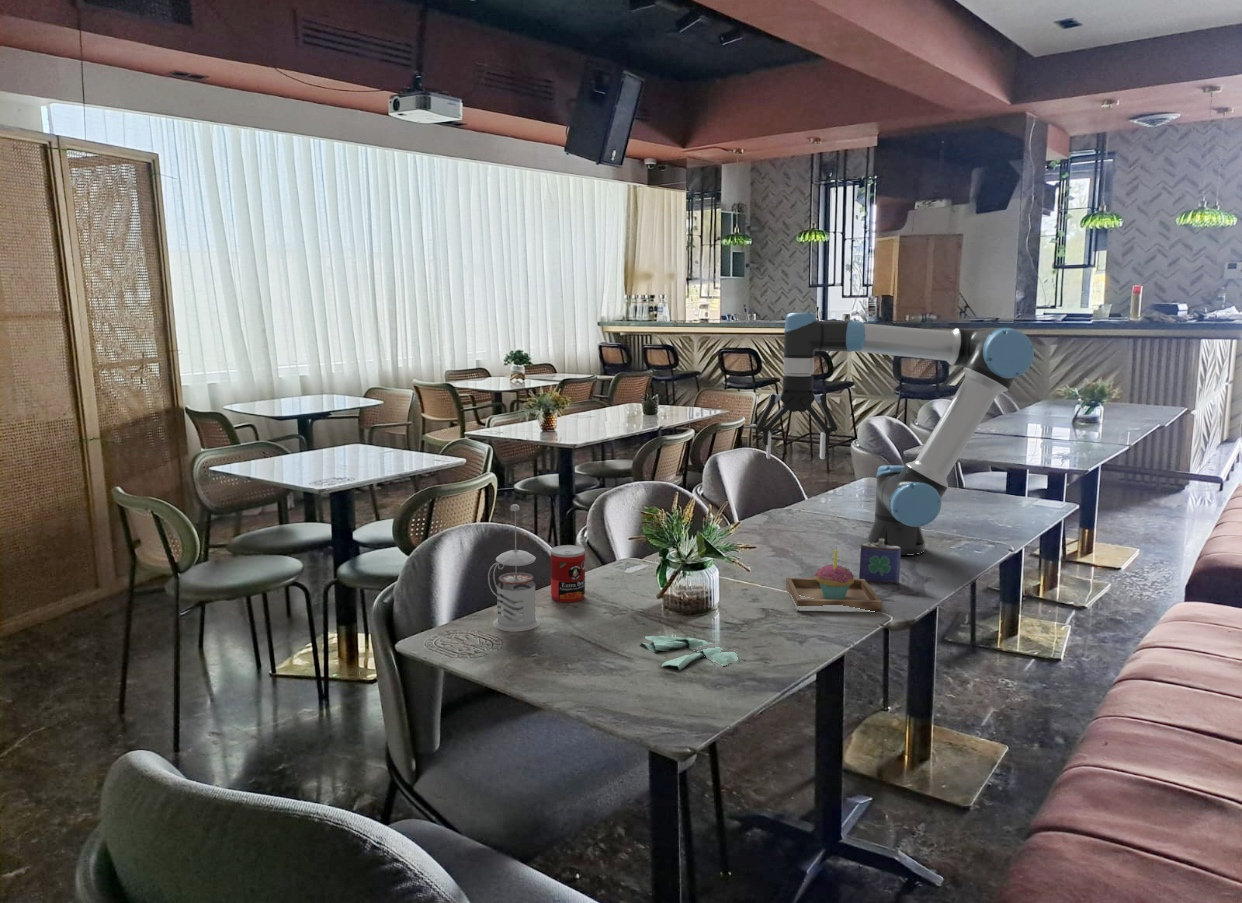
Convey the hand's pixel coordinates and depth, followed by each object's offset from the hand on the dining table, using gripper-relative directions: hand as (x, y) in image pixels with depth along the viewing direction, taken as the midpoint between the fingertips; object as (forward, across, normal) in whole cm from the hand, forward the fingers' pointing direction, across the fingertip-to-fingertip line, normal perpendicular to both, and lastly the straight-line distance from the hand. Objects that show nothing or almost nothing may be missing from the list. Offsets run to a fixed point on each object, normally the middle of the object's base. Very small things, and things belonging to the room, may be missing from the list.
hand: (795, 458), depth 222 cm
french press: (+27, +65, +50) cm, 86 cm away
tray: (+27, -4, +32) cm, 42 cm away
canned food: (+27, +55, +33) cm, 70 cm away
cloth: (+28, +31, +64) cm, 77 cm away
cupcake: (+26, -4, +32) cm, 42 cm away
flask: (+27, -18, +18) cm, 37 cm away
